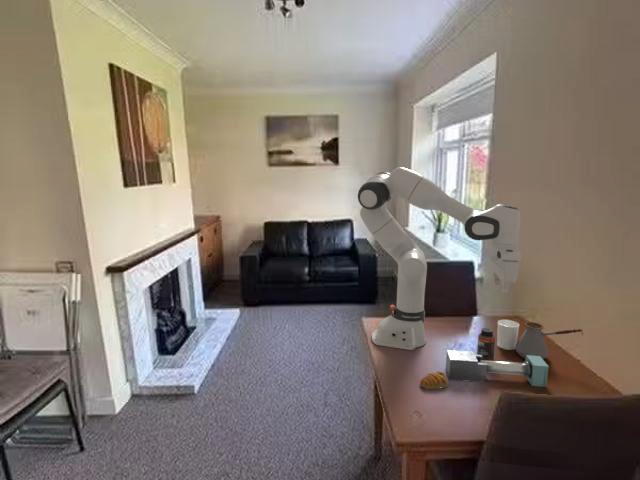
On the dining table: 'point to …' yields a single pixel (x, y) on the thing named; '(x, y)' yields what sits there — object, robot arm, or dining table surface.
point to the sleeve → (465, 366)
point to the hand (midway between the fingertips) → (500, 288)
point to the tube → (508, 367)
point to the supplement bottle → (486, 344)
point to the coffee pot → (536, 340)
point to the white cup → (507, 334)
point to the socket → (537, 371)
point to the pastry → (434, 380)
